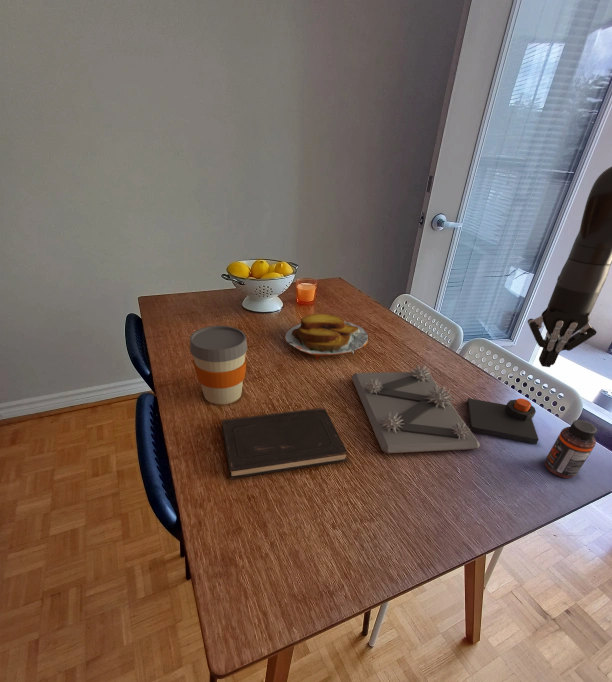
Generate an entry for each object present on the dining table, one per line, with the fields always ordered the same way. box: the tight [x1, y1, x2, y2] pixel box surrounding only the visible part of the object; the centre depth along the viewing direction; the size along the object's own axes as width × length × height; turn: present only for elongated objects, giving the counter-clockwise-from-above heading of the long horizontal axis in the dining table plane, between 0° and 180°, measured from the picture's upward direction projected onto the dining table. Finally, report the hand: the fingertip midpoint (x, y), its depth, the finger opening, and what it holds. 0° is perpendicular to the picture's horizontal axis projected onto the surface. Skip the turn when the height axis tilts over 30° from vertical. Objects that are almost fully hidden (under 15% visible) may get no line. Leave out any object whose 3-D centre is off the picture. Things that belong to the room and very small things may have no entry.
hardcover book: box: [220, 407, 349, 480], centre depth 82 cm, size 16×23×2 cm
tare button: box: [514, 398, 532, 412], centre depth 93 cm, size 3×3×2 cm
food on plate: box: [284, 313, 370, 361], centre depth 120 cm, size 25×25×7 cm
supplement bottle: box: [544, 419, 598, 479], centre depth 78 cm, size 6×6×11 cm
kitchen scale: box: [466, 397, 539, 445], centre depth 92 cm, size 14×13×3 cm
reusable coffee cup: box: [189, 325, 248, 405], centre depth 92 cm, size 12×13×15 cm
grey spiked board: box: [350, 364, 481, 454], centre depth 92 cm, size 30×22×7 cm
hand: (544, 365), depth 86 cm, fingers closed
